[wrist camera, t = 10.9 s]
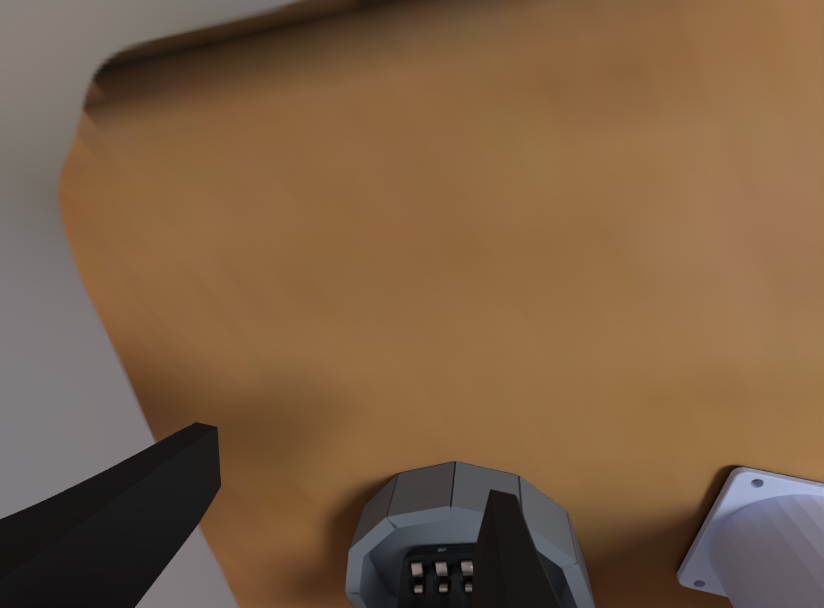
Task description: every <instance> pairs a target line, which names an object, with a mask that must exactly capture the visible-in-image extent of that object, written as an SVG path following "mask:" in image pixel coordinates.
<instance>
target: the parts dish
mask: <svg viewBox="0 0 824 608" xmlns="http://www.w3.org/2000/svg"><path fill="white" fill-rule="evenodd" d="M490 489H493V490H497V491H501V492H506V493H510V494H515V495H516V496H517V498H518V499H519V502H520V505H521V508H522V511H523V514H524V517H525V520H526V523H527V526H528V528H529V531H530V534H531V536H532V539H533V542H534V544H535V547H536V549H537V552H538V554H539V557H540V559H541V561H542V564H543V566H544V568H545V571H546V573H547V575H548V577H549V580H550V582H551V584H552V586H553V589H554V591H555V593H556V595H557V597H558V599H559V602H560V604H561V606H562V608H595V603H594V599H593V594H592V590H591V585H590V581H589V577H588V572H587V568H586V563H585V559H584V555H583V553H582V550H581V547H580V545H579V542H578V539H577V537H576V534H575V531H574V529H573V526H572V523H571V521H570V518H569V515H568V513H567V512H566V511H565V510H564V509H562V508H561V507H560V506H559V505H557V504H556V503H555V502H553V501H552V500H551V499H549V498H548V497H547V496H545V495H544V494H543V493H541V492H540V491H539V490H537V489H536V488H535V487H533V486H532V485H531V484H529V483H528V482H527V481H525V480H524V479H523V478H521V477H518V475H514V474H510V473H505V472H501V471H496V470H492V469H487V468H483V467H478V466H474V465H469V464H464V463H460V462H456V465H455V463H454V462H450V463H445V464H441V465H436V466H431V467H426V468H422V469H417V470H412V471H407V472H403V473H399V475H398V474H397V475H396V476H395V477H394V478H393V479H392V480H391V481H389V482H388V483H387V484H386V485H385V486H384V487H383V488H382V489H381V490H380V491H379V492H378V493H377V494H376V495H375V496H374V497H373V498H371V499H370V500H369V501H368V502H367V503H366V504H365V506H364V508H363V511H362V514H361V517H360V520H359V523H358V526H357V529H356V532H355V534H354V537H353V540H352V543H351V546H350V549H349V554H348V565H347V575H346V585H345V592H346V593H345V594H346V596H347V597H348V599H349V601H350V602H351V604H352V606H353V607H354V608H397V602H398V595H399V586H400V575H401V570H402V565H403V560H404V557H405V555H406V553H407V552H409V551H410V550H413V549H417V548H422V547H436V546H452V545H476V542H477V538H478V534H479V530H480V527H481V523H482V519H483V515H484V511H485V507H486V503H487V500H488V496H489V492H490Z"/></svg>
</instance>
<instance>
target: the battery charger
mask: <svg viewBox="0 0 824 608" xmlns="http://www.w3.org/2000/svg"><path fill="white" fill-rule="evenodd" d="M475 546H476V545H452V546H436V547H422V548H417V549H413V550H410V551H409V552H407V553H406V555H405V557H404V560H403V565H402V570H401V575H400V586H399V595H398V602H397V608H472V580H473V567H474V554H475Z"/></svg>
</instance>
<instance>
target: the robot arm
mask: <svg viewBox="0 0 824 608" xmlns="http://www.w3.org/2000/svg"><path fill="white" fill-rule="evenodd" d="M755 479H757V480H756V481H753V480H755ZM752 481H753V482H752ZM220 487H221V478H220V462H219V446H218V429H217V427H215V426H211V425H206V424H202V423H197V422H196V423H194V424H192V425H190V426H188V427H186V428H184V429H182V430H180V431H178V432H176V433H174V434H172V435H171V436H169V437H167V438H165V439H163V440H161V441H160V442H158V443H156V444H154V445H152V446H150V447H149V448H147V449H145V450H143V451H141V452H139V453H138V454H136V455H134V456H132V457H130V458H128V459H126V460H124V461H122V462H121V463H119V464H117V465H115V466H113V467H111V468H109V469H108V470H105V471H103V472H102V473H99V474H97V475H95V476H94V477H92V478H89V479H87V480H85V481H83V482H81V483H80V484H77V485H75V486H73V487H71V488H69V489H67V490H65V491H63V492H61V493H59V494H57V495H55V496H53V497H51V498H48V499H46V500H44V501H42V502H40V503H38V504H35V505H33V506H31V507H28V508H26V509H24V510H21V511H19V512H17V513H14V514H12V515H10V516H7V517H5V518H2V519H0V608H135V606H136V605H137V604H138V603H139V601H140V600H141V599H142V597H143V596H144V595H145V593H146V592H147V591H148V589H149V588H150V587H151V586H152V584H153V583H154V582H155V580H156V579H157V578H158V576H159V575H160V574H161V573H162V571H163V570H164V569H165V567H166V566H167V565H168V563H169V562H170V561H171V559H172V558H173V557H174V556H175V554H176V553H177V552H178V550H179V549H180V548H181V546H182V545H183V544H184V542H185V541H186V540H187V538H188V537H189V536H190V534H191V533H192V532H193V530H194V529H195V528H196V526H197V525H198V524H199V522H200V520H201V519H202V517H203V516H204V514H205V512H206V511H207V509H208V507H209V506H210V504H211V502H212V501H213V499H214V497H215V495H216V494H217V492H218V490H219V488H220ZM676 576H677V578H678V580H679V583H680V584H681V585H682V586H685V587H688V588H692V589H696V590H700V591H705V592H709V593H713V594H717V595H721V596H725V597H728V598H729V600H730V602H731V604H732V606H733V608H824V484H823V483H819V482H814V481H809V480H804V479H799V478H794V477H790V476H785V475H780V474H775V473H770V472H766V471H761V470H756V469H751V468H746V467H740V468H736V469H734V470H733V471H732V472H731V473H730V475H729V477H728V479H727V481H726V482H725V484H724V486H723V488H722V490H721V492H720V494H719V495H718V497H717V499H716V501H715V503H714V505H713V507H712V509H711V510H710V512H709V514H708V516H707V518H706V520H705V522H704V523H703V525H702V527H701V529H700V531H699V533H698V535H697V537H696V538H695V540H694V542H693V544H692V546H691V548H690V550H689V551H688V553H687V555H686V557H685V559H684V561H683V563H682V565H681V566H680V568H679V570H678V572H677V575H676ZM472 608H562V606H561V604H560V602H559V599H558V597H557V595H556V593H555V591H554V589H553V586H552V584H551V582H550V580H549V577H548V575H547V573H546V571H545V568H544V566H543V564H542V561H541V559H540V557H539V554H538V552H537V549H536V547H535V544H534V542H533V539H532V536H531V534H530V531H529V528H528V526H527V523H526V520H525V517H524V514H523V511H522V508H521V505H520V502H519V499H518V498H517V496H516V495H515V494H510V493H506V492H501V491H497V490H493V489H490V492H489V496H488V500H487V503H486V507H485V511H484V515H483V519H482V523H481V527H480V530H479V534H478V538H477V542H476V546H475V554H474V567H473V580H472Z"/></svg>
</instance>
